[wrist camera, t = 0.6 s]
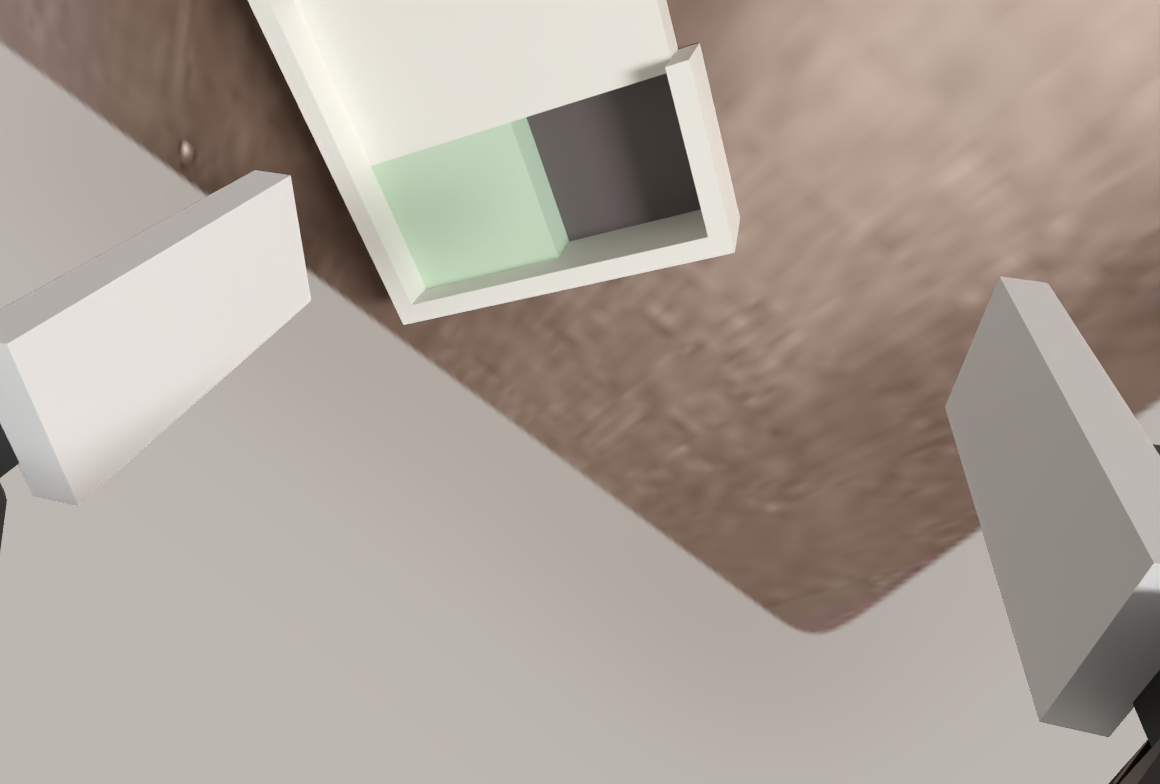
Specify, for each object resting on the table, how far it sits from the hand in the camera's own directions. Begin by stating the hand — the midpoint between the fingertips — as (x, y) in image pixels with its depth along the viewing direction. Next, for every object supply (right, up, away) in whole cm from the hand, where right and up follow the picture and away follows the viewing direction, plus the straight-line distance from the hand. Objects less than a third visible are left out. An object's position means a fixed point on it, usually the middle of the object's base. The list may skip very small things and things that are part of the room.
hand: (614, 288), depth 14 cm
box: (-5, +17, +21) cm, 27 cm away
